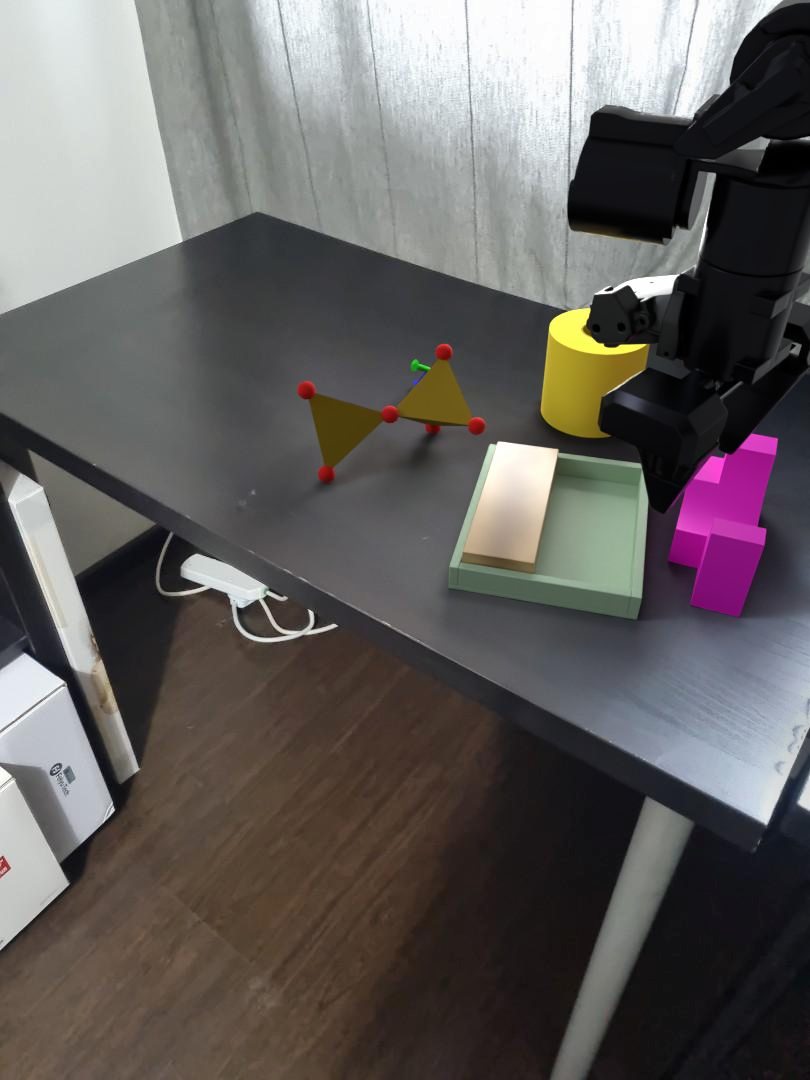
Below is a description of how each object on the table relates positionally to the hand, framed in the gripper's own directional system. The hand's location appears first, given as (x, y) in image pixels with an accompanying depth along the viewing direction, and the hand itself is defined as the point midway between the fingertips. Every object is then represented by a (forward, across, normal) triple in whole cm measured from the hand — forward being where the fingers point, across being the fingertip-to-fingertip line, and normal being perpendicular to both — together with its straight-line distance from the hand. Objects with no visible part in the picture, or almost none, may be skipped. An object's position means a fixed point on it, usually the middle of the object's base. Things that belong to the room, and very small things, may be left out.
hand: (693, 479), depth 57 cm
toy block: (+14, -10, -1) cm, 17 cm away
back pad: (+13, -1, -15) cm, 20 cm away
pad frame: (+13, -3, -12) cm, 18 cm away
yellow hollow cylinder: (+13, -21, -21) cm, 33 cm away
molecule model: (+13, -3, -34) cm, 37 cm away
